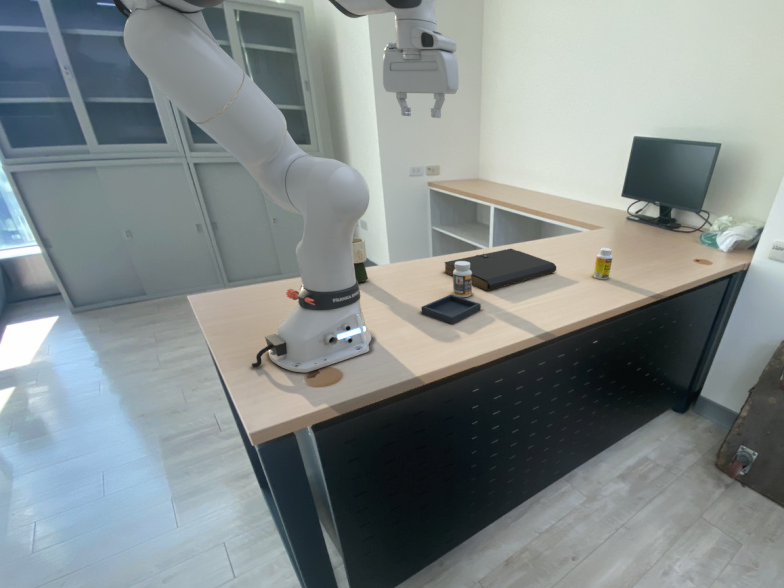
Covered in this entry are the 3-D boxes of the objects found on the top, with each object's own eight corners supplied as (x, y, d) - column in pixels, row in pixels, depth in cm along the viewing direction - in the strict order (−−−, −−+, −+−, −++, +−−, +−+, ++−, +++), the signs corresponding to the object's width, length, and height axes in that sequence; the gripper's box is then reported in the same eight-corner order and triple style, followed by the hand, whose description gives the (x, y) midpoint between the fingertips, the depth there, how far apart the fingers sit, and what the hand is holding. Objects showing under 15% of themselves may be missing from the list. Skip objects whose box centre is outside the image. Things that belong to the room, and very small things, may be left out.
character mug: (339, 278, 132) (332, 238, 125) (359, 274, 137) (354, 235, 130) (356, 288, 126) (350, 245, 119) (376, 283, 131) (372, 242, 124)
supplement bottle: (602, 281, 144) (608, 252, 139) (590, 276, 147) (594, 248, 142) (611, 278, 147) (617, 249, 142) (598, 274, 151) (603, 246, 145)
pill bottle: (468, 298, 123) (469, 266, 118) (450, 296, 124) (450, 264, 119) (473, 292, 128) (474, 261, 123) (456, 290, 129) (456, 259, 123)
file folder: (510, 247, 161) (557, 263, 147) (509, 257, 163) (555, 274, 149) (443, 260, 141) (489, 281, 127) (443, 272, 143) (489, 293, 129)
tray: (452, 324, 107) (452, 317, 106) (421, 313, 112) (421, 306, 111) (480, 310, 116) (480, 303, 115) (450, 300, 121) (450, 294, 120)
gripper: (372, 40, 90) (379, 114, 97) (443, 36, 81) (445, 118, 88) (393, 45, 94) (399, 115, 102) (462, 41, 85) (462, 119, 93)
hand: (420, 116), depth 95 cm, fingers open, 8 cm apart
